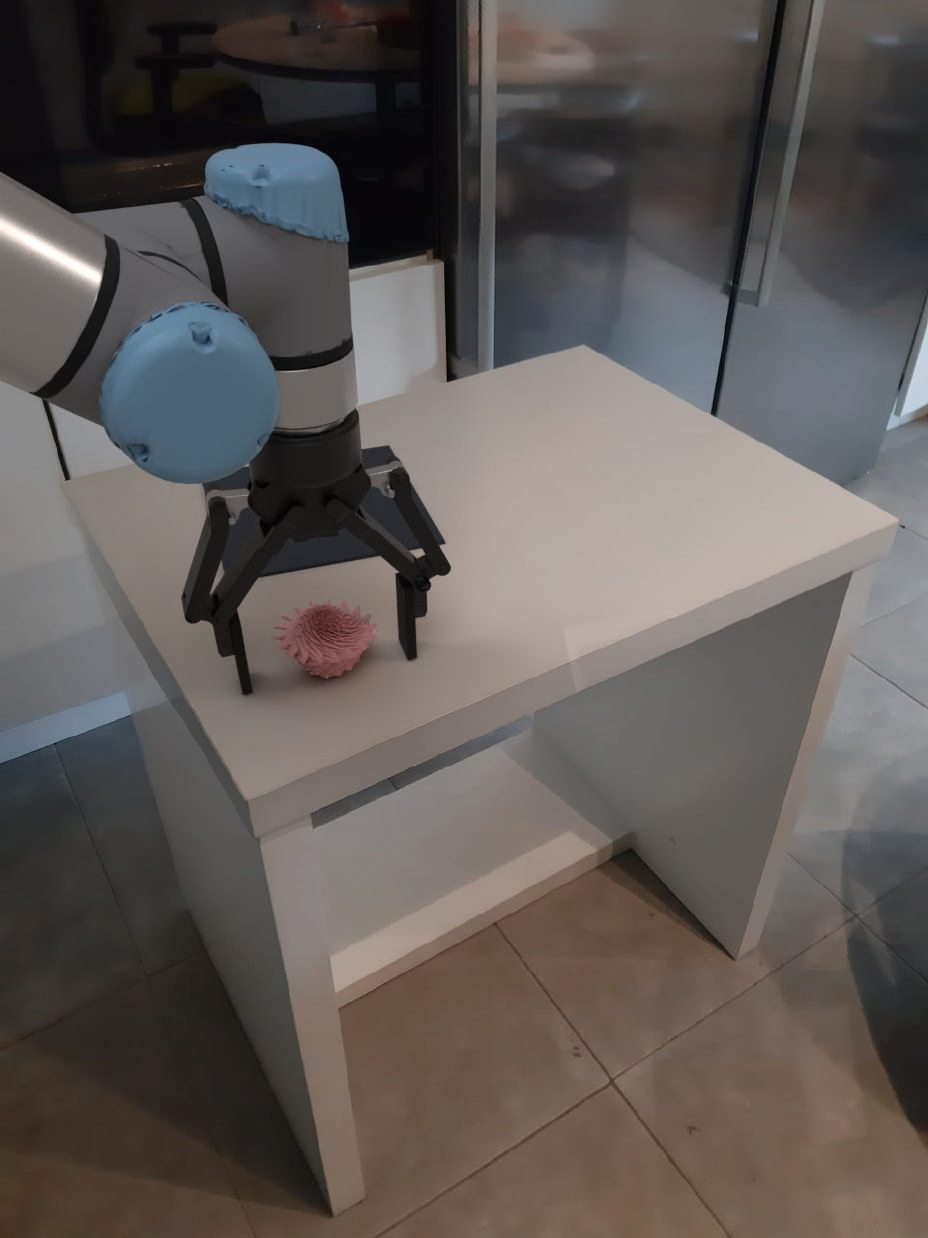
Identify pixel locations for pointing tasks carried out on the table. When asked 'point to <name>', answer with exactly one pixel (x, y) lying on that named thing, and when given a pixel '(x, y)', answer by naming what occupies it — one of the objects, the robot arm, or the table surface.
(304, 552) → the mat
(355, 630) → the flower
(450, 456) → the table surface
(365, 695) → the table surface
